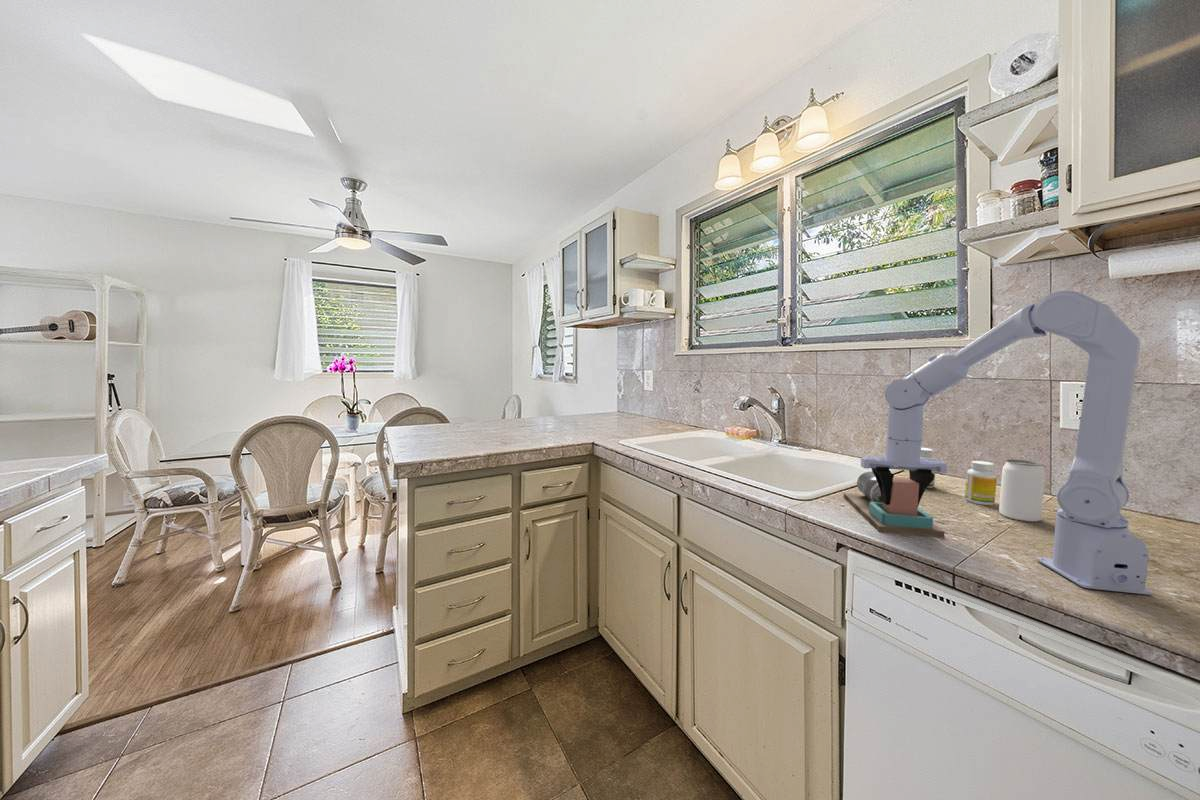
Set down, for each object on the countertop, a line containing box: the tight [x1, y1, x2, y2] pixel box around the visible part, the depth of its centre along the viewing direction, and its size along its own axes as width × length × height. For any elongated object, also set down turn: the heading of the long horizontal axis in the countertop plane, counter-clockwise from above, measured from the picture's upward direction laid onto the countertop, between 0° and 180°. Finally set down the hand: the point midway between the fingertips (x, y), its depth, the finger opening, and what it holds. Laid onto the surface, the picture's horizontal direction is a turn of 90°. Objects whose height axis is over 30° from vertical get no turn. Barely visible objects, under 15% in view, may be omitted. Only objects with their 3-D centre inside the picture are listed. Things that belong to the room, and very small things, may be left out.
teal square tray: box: [869, 501, 934, 529], centre depth 87 cm, size 9×9×2 cm
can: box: [998, 459, 1046, 523], centre depth 91 cm, size 6×6×12 cm
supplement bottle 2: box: [964, 460, 998, 506], centre depth 101 cm, size 5×5×10 cm
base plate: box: [843, 492, 946, 538], centre depth 93 cm, size 22×11×1 cm, turn 166°
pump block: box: [882, 476, 919, 516], centre depth 87 cm, size 4×4×7 cm
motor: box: [856, 471, 882, 502], centre depth 97 cm, size 12×6×6 cm, turn 166°
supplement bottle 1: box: [908, 447, 937, 489], centre depth 114 cm, size 6×6×10 cm
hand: (899, 504), depth 87 cm, fingers closed on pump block, 4 cm apart
